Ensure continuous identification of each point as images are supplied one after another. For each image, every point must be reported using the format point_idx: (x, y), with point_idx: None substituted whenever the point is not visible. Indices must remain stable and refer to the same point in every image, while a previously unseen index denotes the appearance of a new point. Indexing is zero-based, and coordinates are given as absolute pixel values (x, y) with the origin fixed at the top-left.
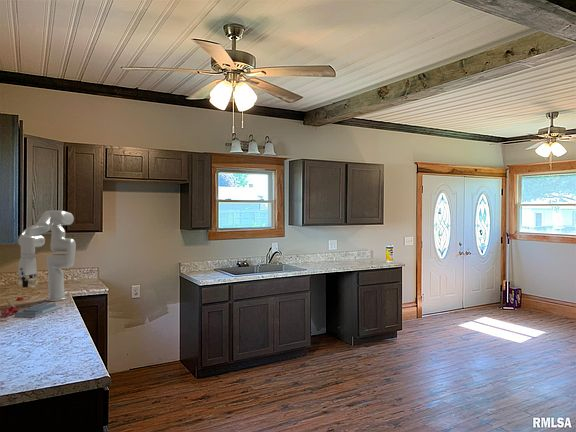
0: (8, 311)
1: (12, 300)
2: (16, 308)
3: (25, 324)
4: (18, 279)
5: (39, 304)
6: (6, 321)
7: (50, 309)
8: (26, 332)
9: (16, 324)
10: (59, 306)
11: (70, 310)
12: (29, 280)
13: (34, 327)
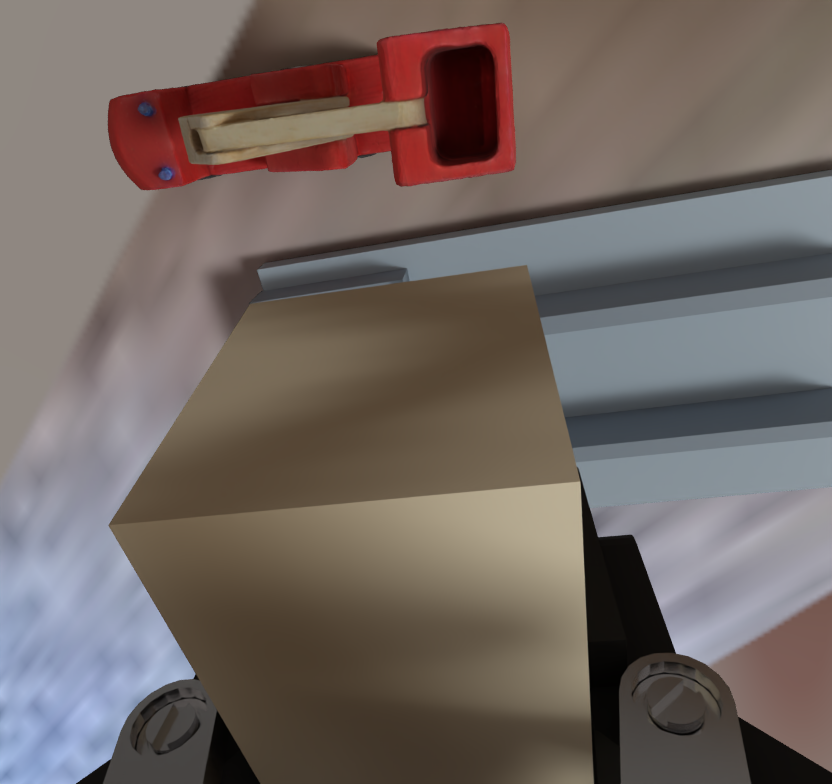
0: (199, 178)
1: (252, 145)
2: (349, 165)
3: (127, 618)
4: (152, 469)
5: (679, 313)
6: (80, 378)
7: (633, 477)
8: (22, 751)
9: (82, 554)
10: (824, 462)
11: (699, 633)
12: None
13: (118, 723)
